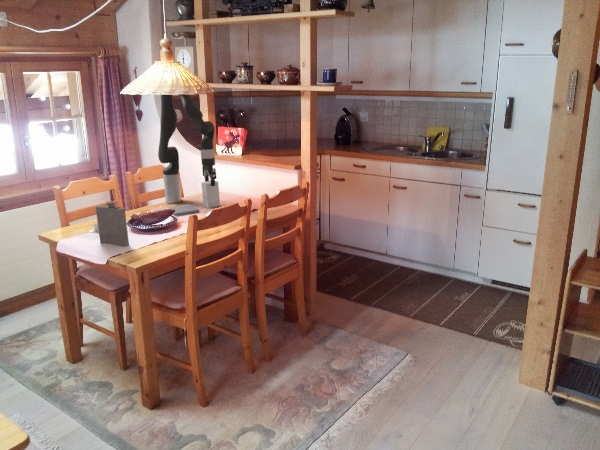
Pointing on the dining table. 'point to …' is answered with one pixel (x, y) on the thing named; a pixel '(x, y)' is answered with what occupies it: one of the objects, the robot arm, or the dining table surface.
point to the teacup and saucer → (94, 227)
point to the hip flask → (112, 224)
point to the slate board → (184, 209)
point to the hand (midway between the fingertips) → (210, 184)
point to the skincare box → (210, 194)
